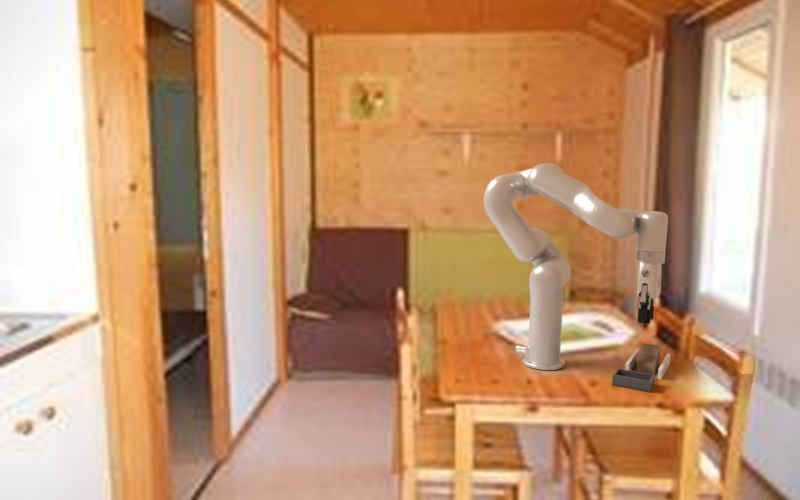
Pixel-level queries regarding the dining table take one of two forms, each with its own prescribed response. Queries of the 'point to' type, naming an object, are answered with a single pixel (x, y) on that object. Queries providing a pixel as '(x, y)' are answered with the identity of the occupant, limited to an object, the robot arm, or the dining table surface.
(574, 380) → the dining table surface
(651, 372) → the walnut block
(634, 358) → the channel
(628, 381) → the bin
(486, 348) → the dining table surface
